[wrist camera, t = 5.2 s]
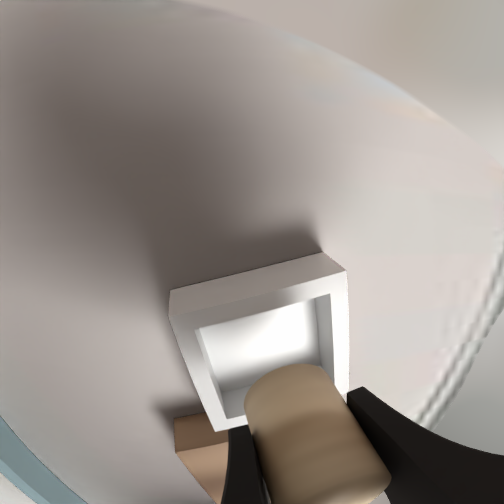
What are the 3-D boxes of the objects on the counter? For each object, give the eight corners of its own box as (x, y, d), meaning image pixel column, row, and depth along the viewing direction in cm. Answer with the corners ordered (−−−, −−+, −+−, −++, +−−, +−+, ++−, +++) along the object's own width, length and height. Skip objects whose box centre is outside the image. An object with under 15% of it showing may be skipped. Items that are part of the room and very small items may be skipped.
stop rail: (94, 509, 19) (93, 533, 16) (78, 508, 19) (76, 531, 16) (-28, 377, 13) (-45, 405, 10) (-42, 378, 12) (-59, 404, 10)
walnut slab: (313, 458, 21) (325, 485, 18) (219, 483, 20) (224, 512, 17) (302, 380, 17) (320, 414, 15) (173, 414, 16) (175, 452, 14)
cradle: (331, 366, 17) (348, 392, 15) (210, 400, 16) (215, 431, 14) (323, 251, 14) (346, 270, 12) (170, 290, 14) (168, 317, 11)
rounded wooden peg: (328, 413, 12) (378, 502, 7) (249, 434, 11) (279, 536, 7) (332, 353, 11) (404, 454, 6) (237, 375, 10) (273, 501, 5)
